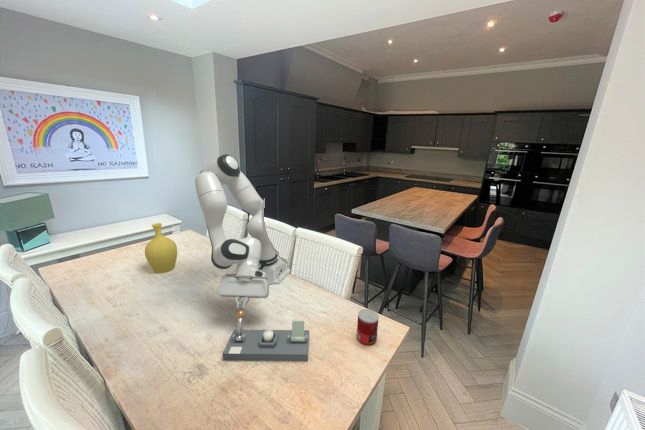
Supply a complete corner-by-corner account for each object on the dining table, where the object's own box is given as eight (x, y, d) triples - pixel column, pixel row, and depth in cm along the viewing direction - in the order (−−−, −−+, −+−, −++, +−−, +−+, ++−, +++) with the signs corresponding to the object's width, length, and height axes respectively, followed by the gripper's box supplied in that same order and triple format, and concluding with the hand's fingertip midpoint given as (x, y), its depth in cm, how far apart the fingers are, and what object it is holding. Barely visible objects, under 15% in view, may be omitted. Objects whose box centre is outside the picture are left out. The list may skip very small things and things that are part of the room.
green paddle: (291, 340, 98) (291, 319, 99) (305, 340, 98) (305, 320, 99) (290, 342, 96) (291, 321, 97) (304, 342, 96) (305, 322, 97)
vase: (185, 267, 157) (178, 223, 149) (157, 278, 144) (148, 231, 136) (170, 260, 165) (163, 218, 157) (143, 270, 152) (133, 225, 144)
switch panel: (234, 335, 104) (233, 324, 102) (309, 336, 104) (309, 325, 103) (223, 360, 92) (222, 348, 91) (307, 361, 93) (307, 349, 91)
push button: (264, 335, 99) (264, 329, 98) (274, 335, 99) (273, 329, 98) (262, 342, 95) (262, 336, 95) (272, 342, 95) (272, 336, 95)
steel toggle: (236, 339, 98) (238, 309, 100) (243, 339, 98) (245, 309, 100) (233, 342, 96) (235, 311, 97) (241, 342, 96) (243, 311, 97)
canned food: (372, 348, 99) (374, 324, 95) (353, 340, 103) (354, 316, 99) (379, 336, 105) (381, 313, 102) (361, 328, 109) (362, 306, 106)
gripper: (219, 271, 108) (211, 306, 101) (269, 273, 107) (264, 308, 101) (225, 275, 113) (217, 309, 107) (271, 277, 113) (267, 311, 106)
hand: (240, 308), depth 104 cm, fingers closed
